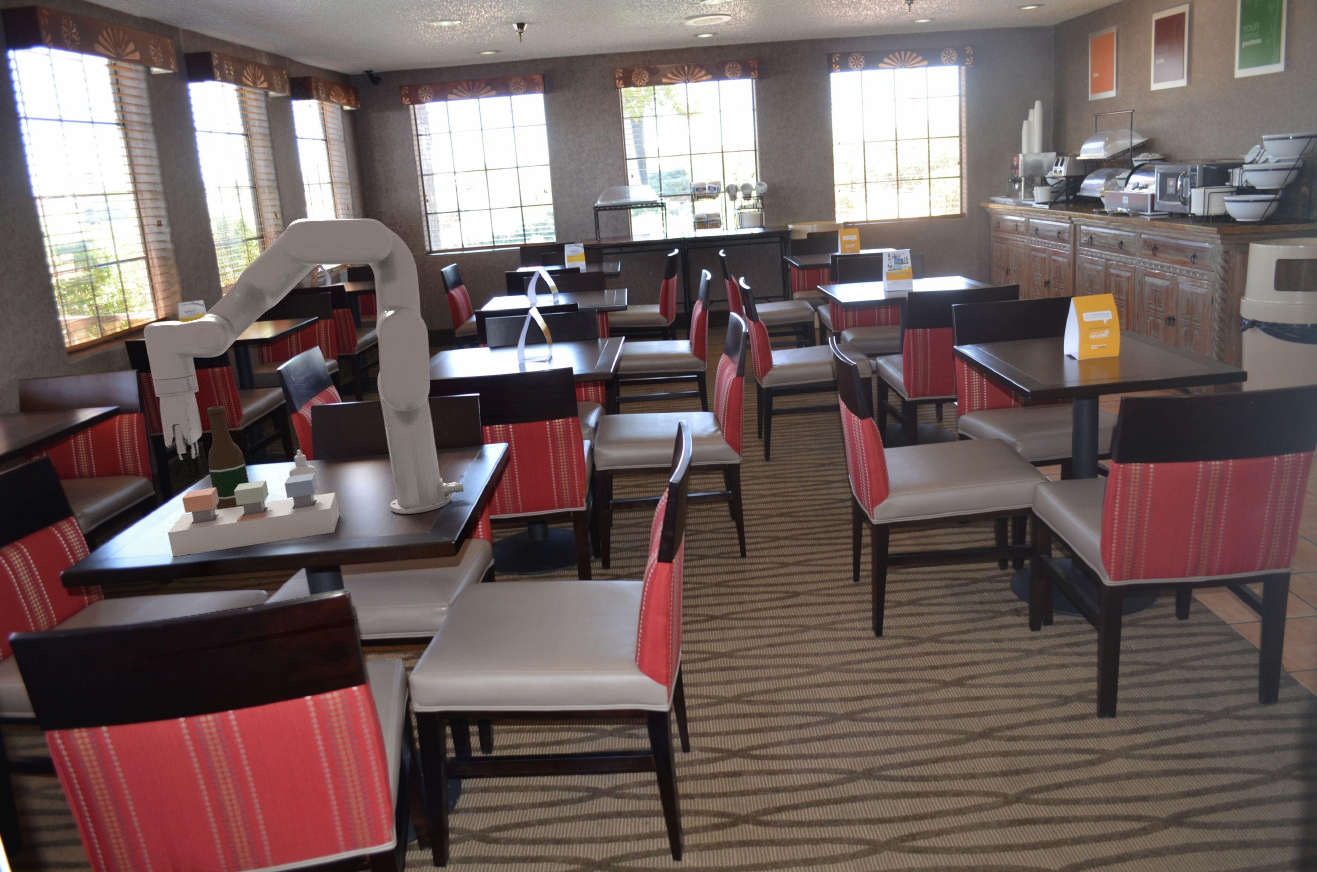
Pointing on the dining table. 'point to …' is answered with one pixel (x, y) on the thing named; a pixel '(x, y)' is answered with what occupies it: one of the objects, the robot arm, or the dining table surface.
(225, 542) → the console
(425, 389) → the robot arm
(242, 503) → the sage button
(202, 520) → the terracotta button
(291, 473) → the eye dropper bottle
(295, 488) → the slate button
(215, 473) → the beer bottle
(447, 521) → the dining table surface
